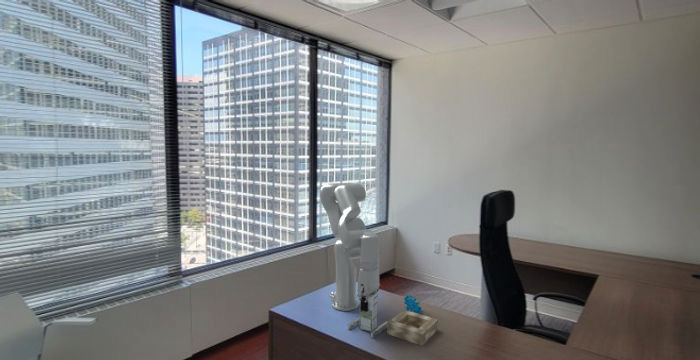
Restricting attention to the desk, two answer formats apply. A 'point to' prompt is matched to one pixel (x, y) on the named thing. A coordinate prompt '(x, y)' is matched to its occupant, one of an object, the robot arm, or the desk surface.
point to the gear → (412, 304)
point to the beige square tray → (412, 327)
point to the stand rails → (373, 334)
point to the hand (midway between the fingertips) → (368, 307)
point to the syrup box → (369, 313)
